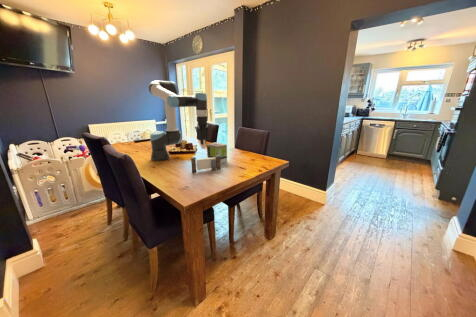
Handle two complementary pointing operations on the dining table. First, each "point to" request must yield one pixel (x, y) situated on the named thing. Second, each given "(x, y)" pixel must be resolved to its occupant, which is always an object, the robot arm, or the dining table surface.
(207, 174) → the dining table surface
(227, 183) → the dining table surface
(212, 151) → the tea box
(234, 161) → the dining table surface
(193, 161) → the hinge post
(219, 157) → the post
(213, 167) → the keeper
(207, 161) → the cream flat block
